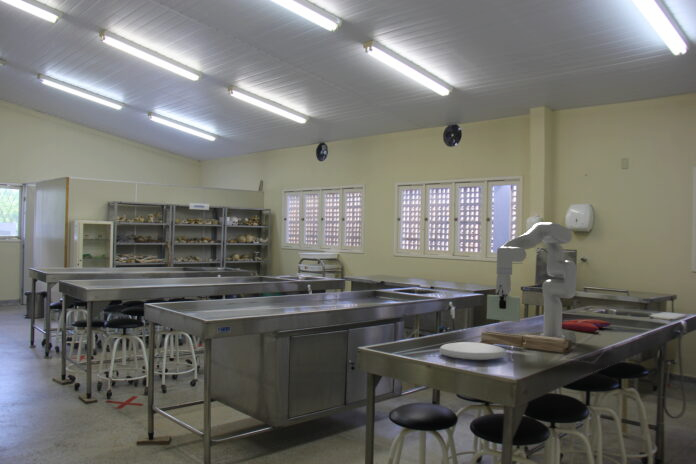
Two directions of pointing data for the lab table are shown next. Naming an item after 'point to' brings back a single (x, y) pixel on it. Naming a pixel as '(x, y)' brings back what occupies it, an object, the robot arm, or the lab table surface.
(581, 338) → the lab table surface
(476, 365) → the lab table surface
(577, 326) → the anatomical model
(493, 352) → the plate
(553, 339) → the rack
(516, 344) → the cradle
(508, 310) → the tall sheet
